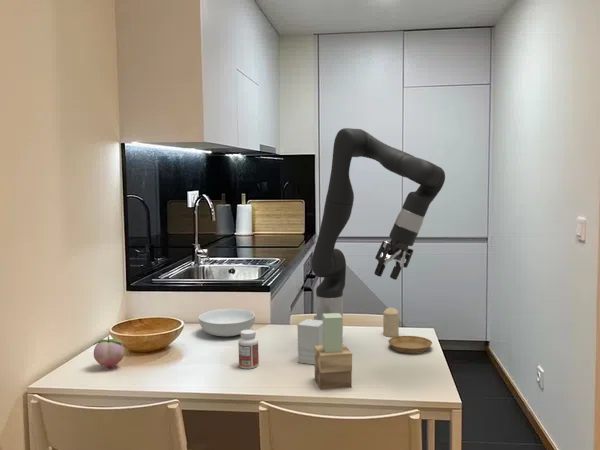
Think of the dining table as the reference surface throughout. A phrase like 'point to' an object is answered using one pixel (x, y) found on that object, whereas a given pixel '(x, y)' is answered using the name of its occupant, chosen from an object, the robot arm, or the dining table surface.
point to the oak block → (332, 360)
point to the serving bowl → (226, 321)
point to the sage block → (332, 332)
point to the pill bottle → (248, 349)
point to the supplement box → (308, 339)
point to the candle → (390, 322)
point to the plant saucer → (410, 344)
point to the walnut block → (333, 379)
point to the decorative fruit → (108, 352)
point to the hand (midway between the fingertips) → (385, 277)
